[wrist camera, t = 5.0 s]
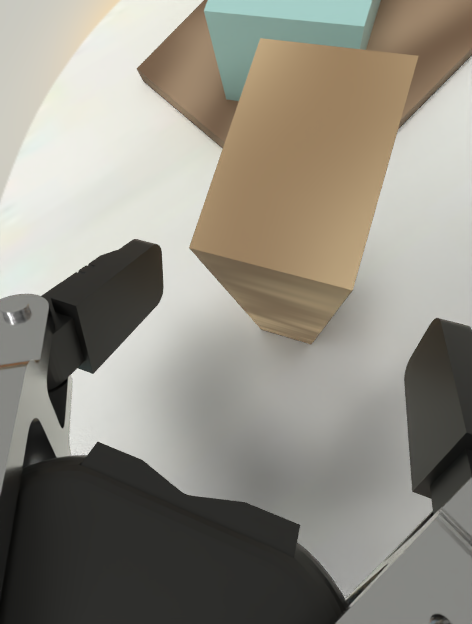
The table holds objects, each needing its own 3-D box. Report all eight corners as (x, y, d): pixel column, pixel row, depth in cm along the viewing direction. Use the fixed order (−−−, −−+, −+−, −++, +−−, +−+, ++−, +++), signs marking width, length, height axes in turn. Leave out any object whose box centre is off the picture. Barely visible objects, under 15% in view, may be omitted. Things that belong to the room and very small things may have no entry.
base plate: (494, 32, 20) (504, 15, 19) (307, 219, 20) (308, 212, 19) (300, -80, 24) (301, -99, 23) (143, 80, 24) (136, 68, 23)
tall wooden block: (332, 270, 20) (418, 55, 6) (311, 344, 19) (352, 290, 6) (283, 258, 20) (260, 38, 7) (261, 329, 20) (189, 247, 6)
